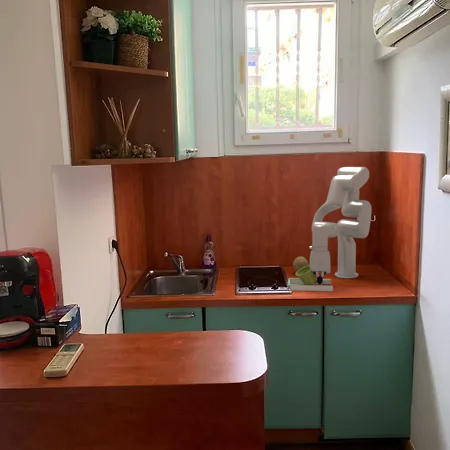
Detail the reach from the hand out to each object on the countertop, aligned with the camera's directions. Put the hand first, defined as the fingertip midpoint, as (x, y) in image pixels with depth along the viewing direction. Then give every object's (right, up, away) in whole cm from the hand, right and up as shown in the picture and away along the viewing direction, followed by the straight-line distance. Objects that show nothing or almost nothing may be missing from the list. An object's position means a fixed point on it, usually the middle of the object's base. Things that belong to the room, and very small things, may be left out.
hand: (319, 283), depth 237 cm
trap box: (-5, -2, +2) cm, 5 cm away
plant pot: (-4, -1, +1) cm, 4 cm away
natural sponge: (-5, +2, +29) cm, 30 cm away
